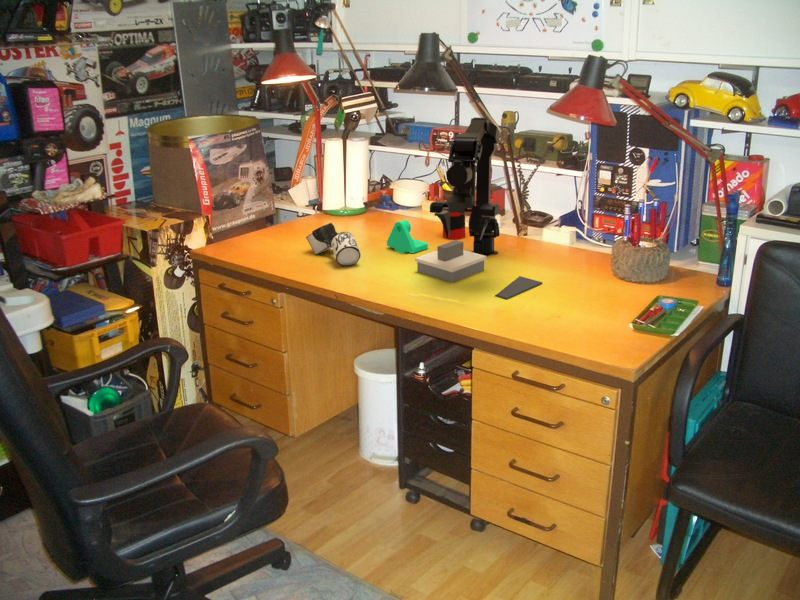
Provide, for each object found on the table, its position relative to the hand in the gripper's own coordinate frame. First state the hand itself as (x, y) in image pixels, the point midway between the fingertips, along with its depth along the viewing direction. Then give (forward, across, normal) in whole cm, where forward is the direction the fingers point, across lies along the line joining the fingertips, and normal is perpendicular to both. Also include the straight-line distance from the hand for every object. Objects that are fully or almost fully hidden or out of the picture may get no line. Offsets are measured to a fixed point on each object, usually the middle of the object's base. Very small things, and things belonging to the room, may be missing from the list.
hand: (463, 239), depth 221 cm
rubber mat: (+13, +10, +5) cm, 17 cm away
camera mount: (+10, -28, +28) cm, 40 cm away
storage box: (+12, -7, +10) cm, 17 cm away
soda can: (+8, -18, +45) cm, 49 cm away
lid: (+8, -7, +10) cm, 14 cm away
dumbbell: (+12, -47, +12) cm, 50 cm away
